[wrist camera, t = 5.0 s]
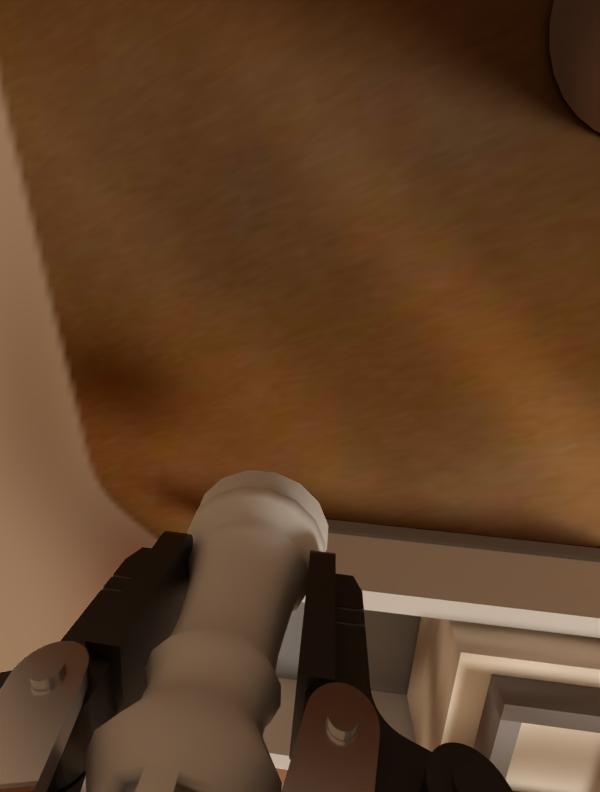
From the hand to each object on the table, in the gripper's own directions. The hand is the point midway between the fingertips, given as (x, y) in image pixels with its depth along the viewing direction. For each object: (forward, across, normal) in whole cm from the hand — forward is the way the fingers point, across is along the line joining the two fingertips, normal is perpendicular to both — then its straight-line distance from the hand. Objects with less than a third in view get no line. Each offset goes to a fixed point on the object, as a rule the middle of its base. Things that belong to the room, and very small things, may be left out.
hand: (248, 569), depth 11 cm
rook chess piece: (+2, 0, 0) cm, 2 cm away
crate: (+9, -13, +11) cm, 19 cm away
